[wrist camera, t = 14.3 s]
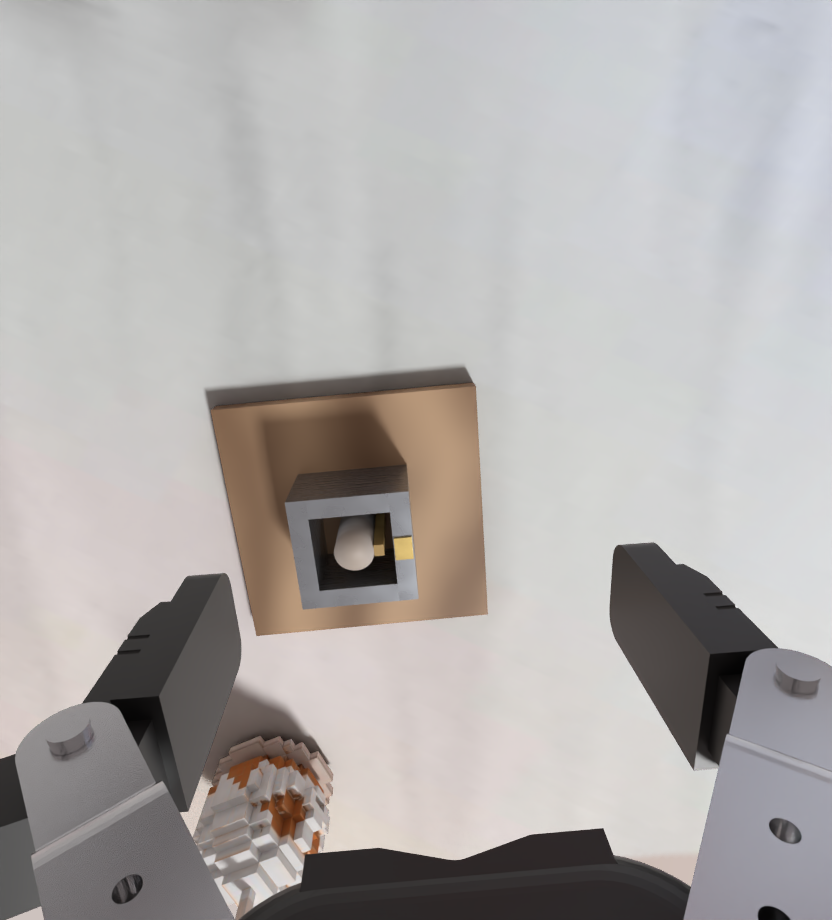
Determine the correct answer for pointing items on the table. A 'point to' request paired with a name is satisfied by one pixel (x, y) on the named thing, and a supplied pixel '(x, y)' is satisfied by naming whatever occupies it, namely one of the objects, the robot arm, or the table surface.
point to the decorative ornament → (263, 819)
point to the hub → (351, 497)
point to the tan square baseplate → (360, 536)
